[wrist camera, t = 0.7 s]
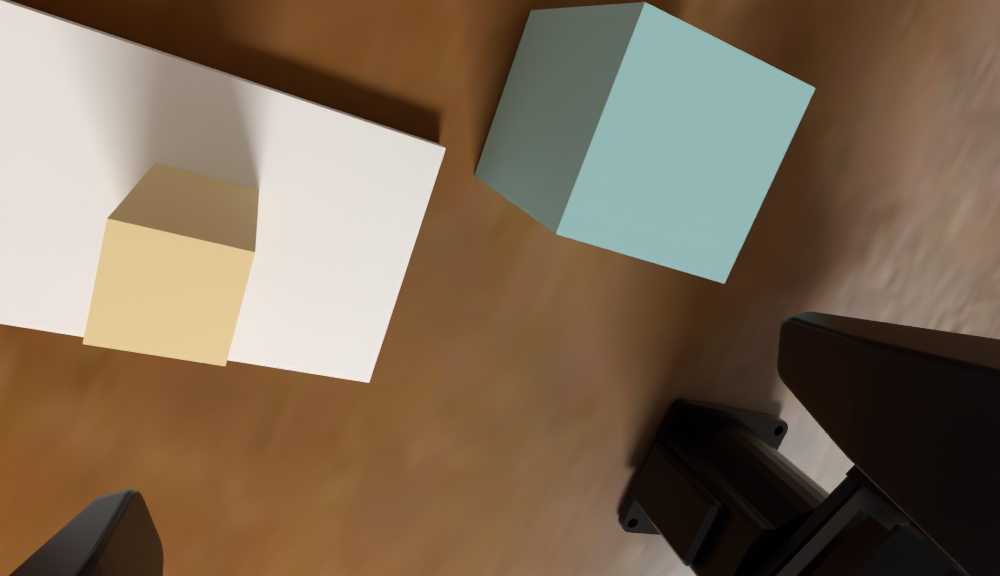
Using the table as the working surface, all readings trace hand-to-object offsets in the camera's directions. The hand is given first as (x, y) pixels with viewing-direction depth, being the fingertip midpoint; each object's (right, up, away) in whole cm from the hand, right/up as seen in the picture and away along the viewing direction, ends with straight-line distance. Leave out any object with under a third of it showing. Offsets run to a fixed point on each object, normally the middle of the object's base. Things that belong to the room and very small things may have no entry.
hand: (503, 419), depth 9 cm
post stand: (-9, +4, +10) cm, 13 cm away
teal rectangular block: (+2, +7, +12) cm, 14 cm away
